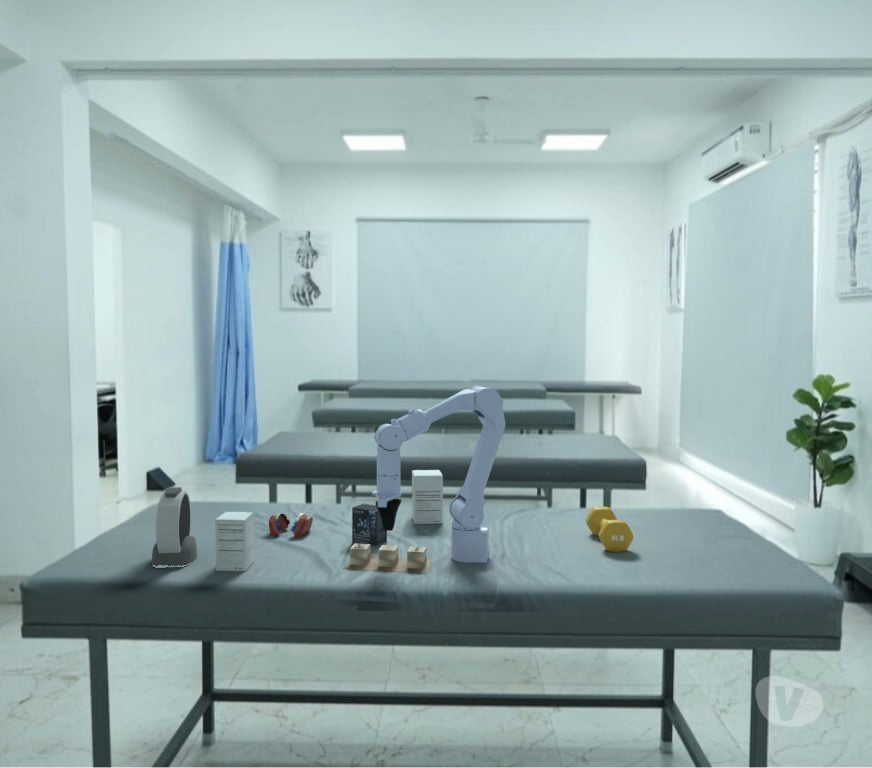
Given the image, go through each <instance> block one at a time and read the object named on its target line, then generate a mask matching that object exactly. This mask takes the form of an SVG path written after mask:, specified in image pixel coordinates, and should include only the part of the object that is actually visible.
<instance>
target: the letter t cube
mask: <svg viewBox="0 0 872 768" xmlns="http://www.w3.org/2000/svg"><path fill="white" fill-rule="evenodd" d="M349 551H350V553H349V554H350V555H349V556H350V558H349V561H350V565H367V564H368V563H369V561H370V556H371V546H370V544H358V543H353V545H352V546H351V547H350V548H349Z"/></svg>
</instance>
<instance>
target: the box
mask: <svg viewBox="0 0 872 768" xmlns="http://www.w3.org/2000/svg"><path fill="white" fill-rule="evenodd" d="M351 510H352V512H351V513H352V514H351V517H352V518H351V529H352V531H351V538H352V539H351V542H352V543H353V544H370V547H374V548H375V547H378V546H380V545H381V546H382V545H384V544H385V543H387V542H388V531H386V530H384V529H383V525H382V520H381V516H380V513H379V511H378V509H377V507H376V504H368V503H362V504H359V505H355V506H353V507H352V508H351Z"/></svg>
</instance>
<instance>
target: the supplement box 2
mask: <svg viewBox="0 0 872 768" xmlns="http://www.w3.org/2000/svg"><path fill="white" fill-rule="evenodd" d="M443 503H444V476H443V474H442V472H441V470H439V469H425V470H423V469H415V470H414V469H413V470H411V518H412V521H413V524H414V525H433V524H434V525H441V524H443V523H444V520H443V518H444V517H443V516H444V514H443V513H444V511H443V510H444V506H443V505H444V504H443Z"/></svg>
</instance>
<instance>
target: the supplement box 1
mask: <svg viewBox="0 0 872 768" xmlns="http://www.w3.org/2000/svg"><path fill="white" fill-rule="evenodd" d="M214 521H215V523H214V524H215V570H216V571H217V572H246V571H247V570H248V569H249V568H250V567H251V566H252V564H253V563H254V562H255V540H254V539H255V537H254V536H255V535H254V533H255V531H254V527H255V525H254V524H255V523H254V512H250V511H224V512H223V513H222V514H220V515H219V516H218V517H217V518H216V519H215V520H214Z"/></svg>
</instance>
